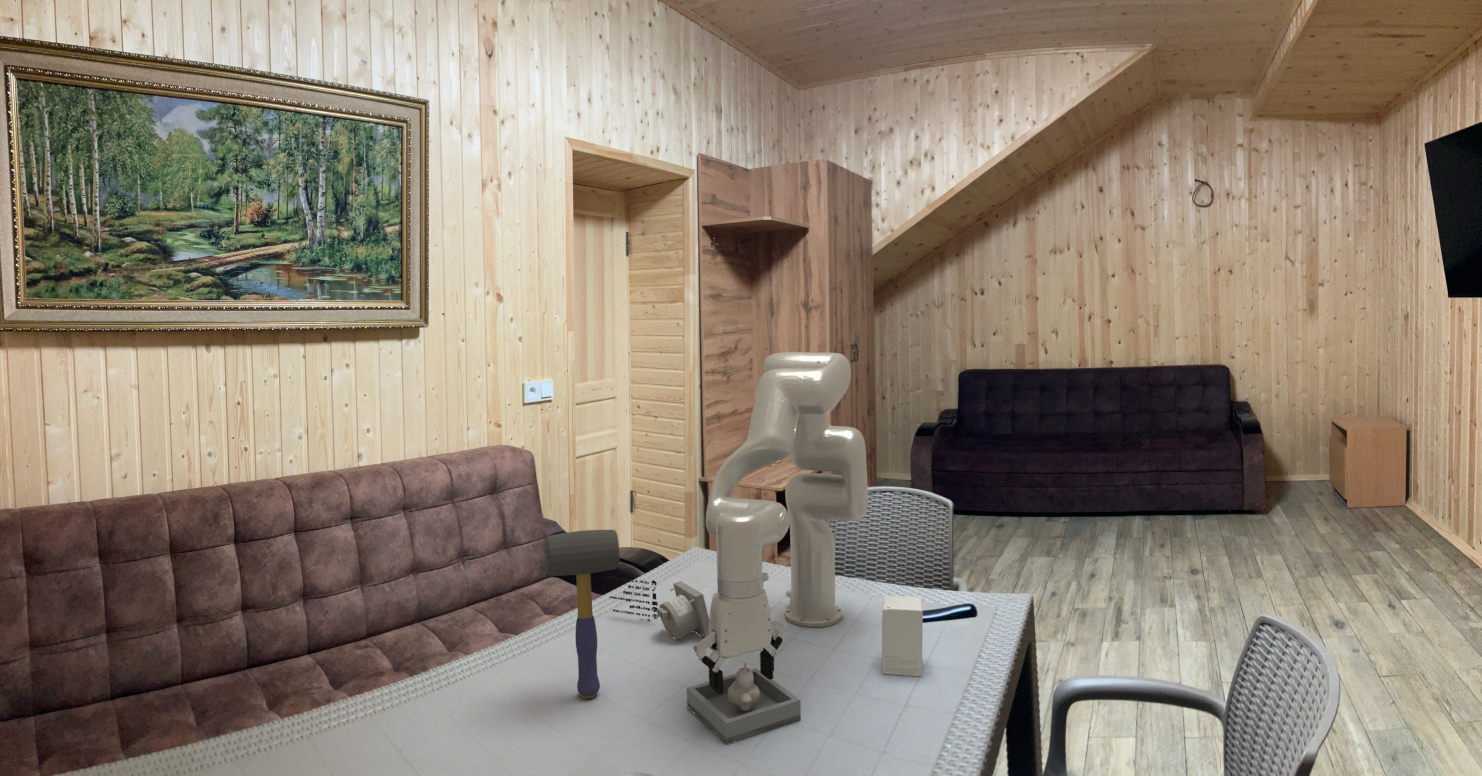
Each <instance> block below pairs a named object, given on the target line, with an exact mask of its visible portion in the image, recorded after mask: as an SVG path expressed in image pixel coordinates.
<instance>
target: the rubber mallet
mask: <svg viewBox="0 0 1482 776" xmlns="http://www.w3.org/2000/svg"><path fill="white" fill-rule="evenodd" d="M619 544H620V543H619V535H618V533H617V531H616V530H615V529H590V530H589V529H588V530H587V529H586V530H576V531H571V532H570V531H569V532H562V533H557V534H552V535H550V534H549V535H548V536H546V538H545V561H546V568H547V574H548V575H549V576H551V577H556V576H557V577H560V576H563V577H564V576H576V577H575V578H576V595H577V596H576V599H577V600H576V601H577V602H576V603H577V604H576V605H577V617H576V622H575V649H576V654H577V666H578V668H577V669H578V671H577V672H578V678H577V684H576V688H577V689H576V690H577V692H578V694H579V696H580V697H581V698H583V699H593V698H595V697H596V696H597V695H598V693H599V691H600V688H601V684H600V680H599V677H598V663H597V662H598V661H597V655H598V653H597V652H598V634H597V625H596V620H595V617H594V615H593V598H592V597H593V596H592V583H591V582H592V580H591V579H592V578H591V574H595V573H600V572H607V571H611V570H617V569H618V567H619V566H620V546H619ZM595 695H596V696H595ZM594 696H595V697H594Z"/></svg>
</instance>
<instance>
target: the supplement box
mask: <svg viewBox="0 0 1482 776" xmlns="http://www.w3.org/2000/svg"><path fill="white" fill-rule="evenodd" d="M923 615H924V613H923V599H922V597H921V596H905V595H904V596H902V595H901V596H900V595H883V597H882V614H881V618H882V622H881V625H882V626H881V630H882V631H881V634H882V635H881V637H882V638H881V640H882V641H881V671H882V672H881V673H882V674H883V675H893V676H894V675H895V676H907V677H908V676H909V677H922V675H923V626H924V624H923V623H924V621H923Z"/></svg>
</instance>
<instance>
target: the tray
mask: <svg viewBox="0 0 1482 776" xmlns="http://www.w3.org/2000/svg"><path fill="white" fill-rule="evenodd" d="M750 669H751V668H750ZM751 671H752V673H753V675H754V681H753V683H754V684H755V685H757V686H758V688H759V691H760V699H759V701H758V703H754V704H753V705H752V706H751V707H750V709H749V710H748V711H743V710H742V709H741V707H737V706H735V705H734V704H730V702H729V700H728V688H729V687H730V686H731V685H732V684H733V682H734V681H735V677H736V673H733V674H730V675H727V676H723V693H722V694H720V695H719V694H718V693H716V692H715V691H714V690H713V689H712V688H711V687H710V685H709V681H706V682H701V683H698V684H694V685H691V686H688V687H686V707H687V706H688V707H689V708H690V709H691V710H692V711H693V712H694V713H695V714H696V715H697V716H698V717H699V718H700V719H701V720H702V721H701V720H700V719H699V718H698V717H697V716H696V715H695V714H694V713H693V712H692V711H691V710H690V709H689V708H688V707H687V708H688V709H689V710H690V711H691V712H692V713H693V714H694V715H695V716H696V717H697V718H698V719H699V720H700V721H701V722H702V723H704V724H705V726H706V727H707V728H709V729H710V730H711V731H712V732H713V731H714V732H715V733H716V734H717V735H718V736H719V737H720V738H719V737H718V738H719V739H720V740H722V741H723V742H724V743H725V744H726V745H729V743H730V744H732V742H733V743H735V742H734V741H736V742H737V741H738V740H739V741H741V739H742V740H744V739H749V738H751V737H754V736H757V735H760V734H762V733H766V732H768V731H772V730H775V729H778V728H780V727H784V726H788V725H790V724H793V723H796V722H800V721H801V720H802V718H801V717H802V716H801V715H802V714H801V709H802V708H801V705H802V703H801V699H800V698H798V697H797V696H795V695H794V694H793V693H791V692H790V691H788V689H786V688H785V687H783V686H782V685H780V684H779V683H778V682H777V681H775V680H774V679H771V680H769V679H768V678H766V677H765V676H764V675H762V674H761V673H760V669H759V668H758V667H755V668H752V669H751ZM714 732H713V733H714ZM715 733H714V734H715ZM716 734H715V735H716ZM717 735H716V736H717ZM739 741H738V742H739Z"/></svg>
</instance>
